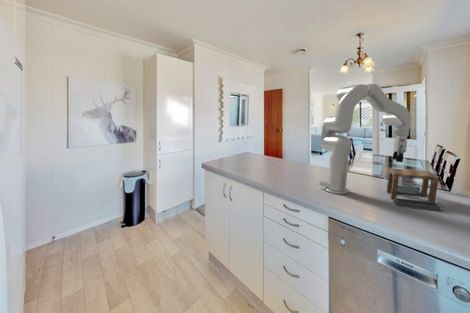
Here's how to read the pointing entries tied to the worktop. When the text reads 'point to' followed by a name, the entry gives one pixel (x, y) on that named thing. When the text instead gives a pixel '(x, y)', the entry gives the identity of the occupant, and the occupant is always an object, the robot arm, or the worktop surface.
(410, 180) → the medicine box
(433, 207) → the dark grey flat slab
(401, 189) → the grey-green low block
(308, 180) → the worktop surface
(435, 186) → the tunnel
